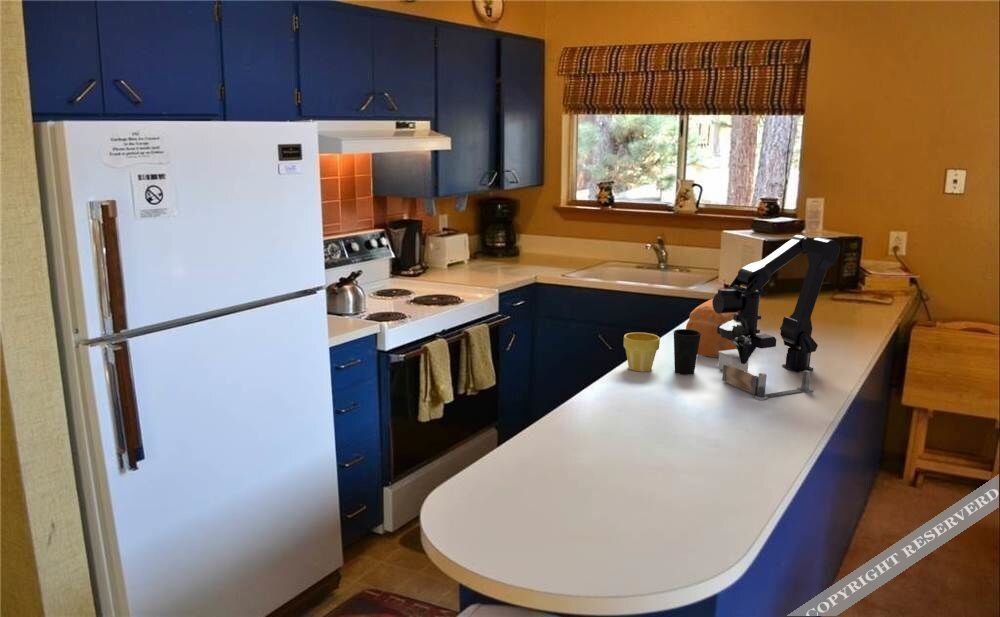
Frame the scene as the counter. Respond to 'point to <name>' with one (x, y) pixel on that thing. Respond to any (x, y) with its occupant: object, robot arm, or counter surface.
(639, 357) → the plant pot
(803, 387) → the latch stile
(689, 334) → the cup
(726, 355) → the base block
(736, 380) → the gate
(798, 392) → the strip
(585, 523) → the counter surface
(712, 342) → the bread
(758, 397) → the hinge post
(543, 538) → the counter surface
